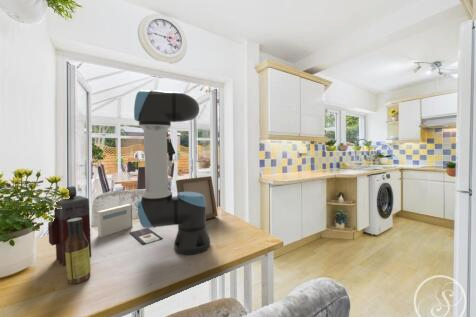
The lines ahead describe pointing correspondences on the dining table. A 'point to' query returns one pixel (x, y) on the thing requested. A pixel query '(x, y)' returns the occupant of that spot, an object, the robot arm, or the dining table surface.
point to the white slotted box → (114, 219)
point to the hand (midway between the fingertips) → (162, 165)
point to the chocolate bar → (145, 236)
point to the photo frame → (202, 187)
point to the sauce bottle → (77, 252)
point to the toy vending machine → (59, 228)
